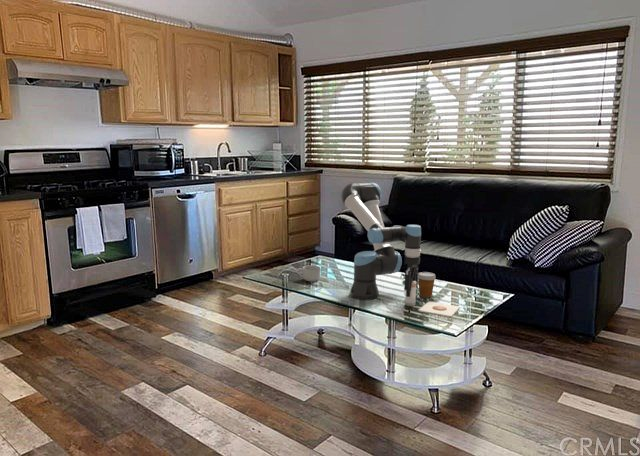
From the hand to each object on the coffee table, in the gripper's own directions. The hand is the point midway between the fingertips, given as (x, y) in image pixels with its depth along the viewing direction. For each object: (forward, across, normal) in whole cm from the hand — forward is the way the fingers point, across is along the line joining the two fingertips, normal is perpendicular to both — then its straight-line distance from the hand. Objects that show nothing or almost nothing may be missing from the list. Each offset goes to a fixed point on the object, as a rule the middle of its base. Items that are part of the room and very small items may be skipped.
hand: (410, 300), depth 248 cm
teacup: (+2, +11, +67) cm, 68 cm away
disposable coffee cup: (+2, +18, -2) cm, 18 cm away
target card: (+2, 0, -15) cm, 15 cm away
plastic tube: (+2, 0, 0) cm, 2 cm away
